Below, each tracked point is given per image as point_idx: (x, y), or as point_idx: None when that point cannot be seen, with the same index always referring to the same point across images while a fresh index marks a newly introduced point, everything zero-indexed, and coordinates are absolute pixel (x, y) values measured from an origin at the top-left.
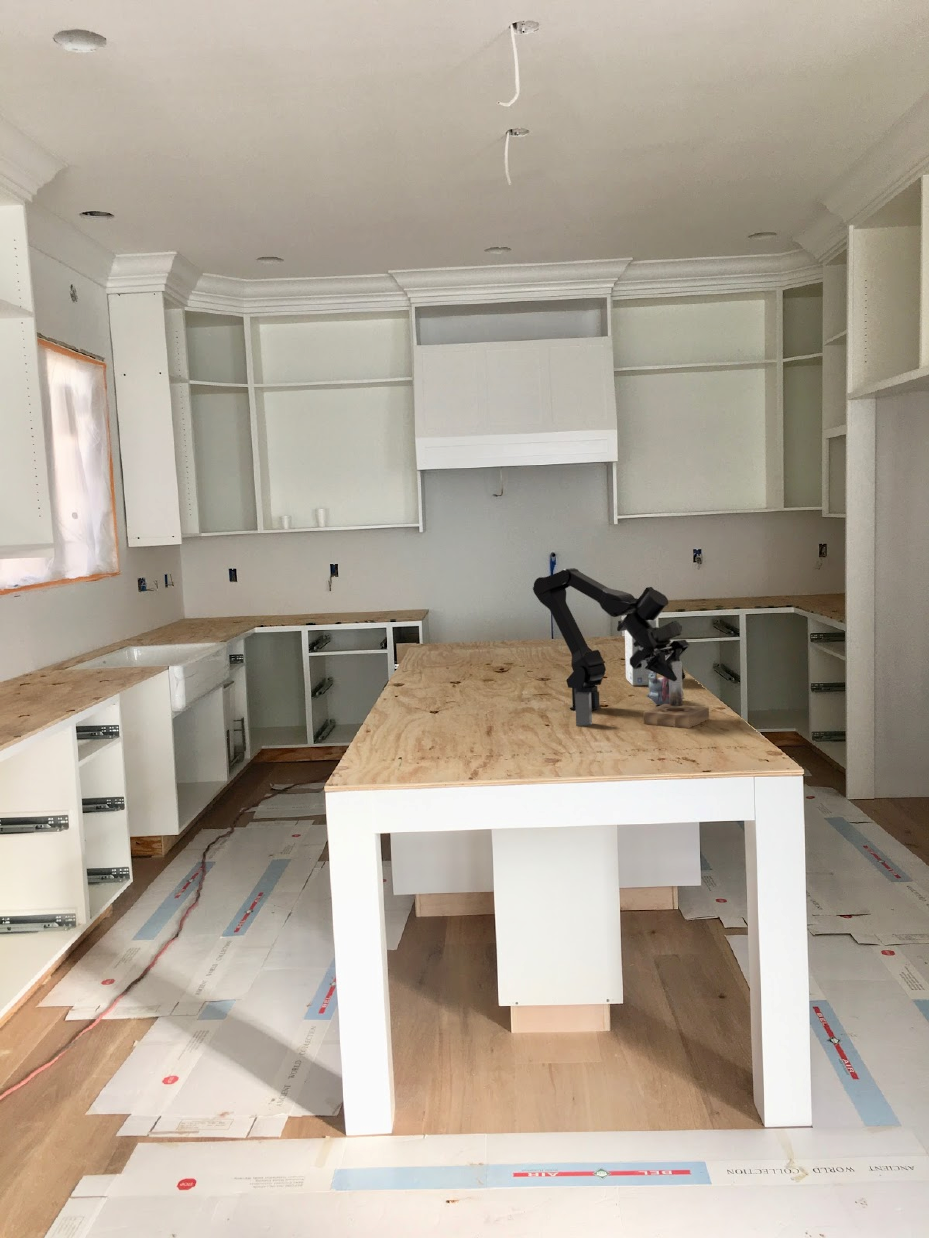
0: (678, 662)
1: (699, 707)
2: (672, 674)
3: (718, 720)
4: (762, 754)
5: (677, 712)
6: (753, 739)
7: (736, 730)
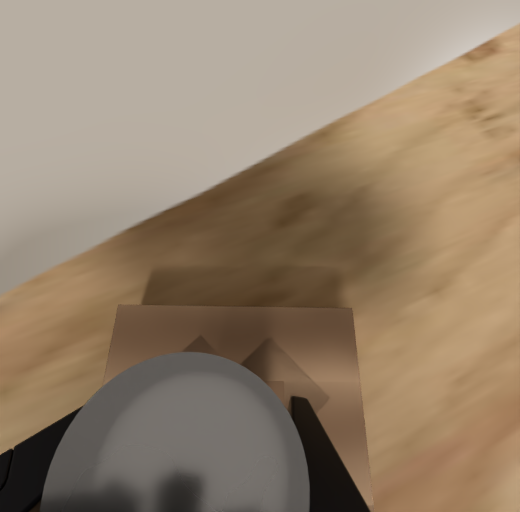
0: (254, 376)
1: (132, 344)
2: (329, 441)
3: (149, 278)
4: (505, 59)
5: (300, 395)
6: (376, 109)
7: (290, 175)
